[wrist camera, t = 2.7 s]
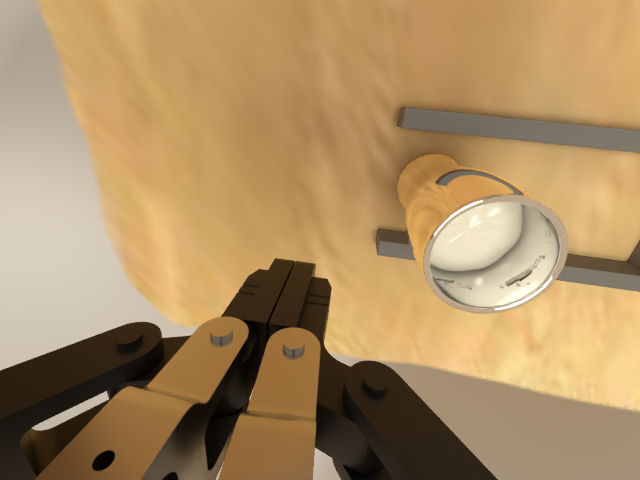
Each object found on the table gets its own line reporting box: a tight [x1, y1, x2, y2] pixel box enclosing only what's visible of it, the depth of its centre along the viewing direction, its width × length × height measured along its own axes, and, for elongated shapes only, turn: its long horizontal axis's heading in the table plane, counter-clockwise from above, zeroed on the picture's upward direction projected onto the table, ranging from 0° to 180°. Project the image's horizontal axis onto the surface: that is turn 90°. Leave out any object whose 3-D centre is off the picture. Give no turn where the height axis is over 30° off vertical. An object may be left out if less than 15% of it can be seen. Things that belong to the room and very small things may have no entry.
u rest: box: [376, 108, 640, 292], centre depth 26 cm, size 13×26×3 cm, turn 85°
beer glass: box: [397, 154, 568, 314], centre depth 21 cm, size 7×7×15 cm
